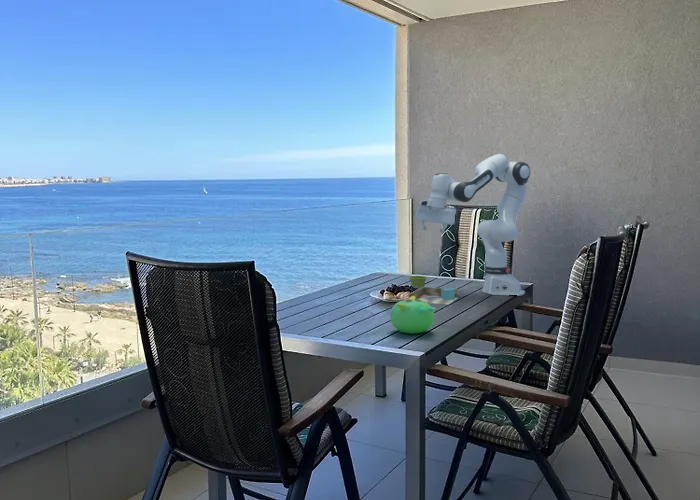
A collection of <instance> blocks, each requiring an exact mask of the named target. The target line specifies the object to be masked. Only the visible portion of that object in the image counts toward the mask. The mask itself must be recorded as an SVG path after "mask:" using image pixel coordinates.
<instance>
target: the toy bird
mask: <svg viewBox="0 0 700 500" xmlns="http://www.w3.org/2000/svg"><path fill="white" fill-rule="evenodd" d="M436 310H437V308H436V307H432V306H431V305H430V303H427V302H425V301H422V300H419V299H416V298H415V296H411V297H410V298H409V297H408V298H405V299H401V300H400V301H398V302H396V303H395V304H394V305H393V306H392V308H391V310H390V313H389V318H390V323H391V324H392V326H393V327H394V328H395V329H396V330H397V331H399V332H401V333H405V334H420V333H424V332H426V331H427V330H429V329H430V328H431V327H432V325H433V324H434V321H435V317H436V316H435V311H436Z"/></svg>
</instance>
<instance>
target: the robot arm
mask: <svg viewBox="0 0 700 500" xmlns="http://www.w3.org/2000/svg"><path fill="white" fill-rule="evenodd" d="M474 171H475V177H474V178H473V179H471V180H470V181H462V182H460V181H459V182H458V181H456V180H454V179H453V178H452V177H451V175H450V173H443V172H442V173H441V172H440V173H435V174H434V176H433V178H432V181H431V187H430V195H429V199H425V200H420V201H419V203H418V204H419V206H418V207H417V209H416V212H415V217H414V218H415V219H416V220H417V221H421V225H422V230H423V231H426V230H427V228H428V227H427V226H426V225H425V224H426V222H430V223H436V224H443V227H442V228H440V231H439V232H440V233H443V234H444V233H445V230H446V228H447V227H448V225H450V226H451V225H452V226H453V225H455V222H456V215H457V208H456V207H455V206H452V205H447V201H454V202H461V203H469V202H470V201H472V200H473V198H474V196H475V195H476V194H477V193H478V192H479V191H480V190H481V189H482V188H485V187H486V186H487V185H488V184H489V183H490V182H491V181H492V180H496V181H498V182H501V183H506V189H504V192H503V194H502V196H501V198H500V201H499V202H498V204H497V206H496V210H497V212H498V217H497V219H496V220H494V219H488V220H482V221H481V222H480V223H478V225H477V230H476V231H477V234H478V236H479V238H481V241H482V242H483V246H484V250H485V265H484V282H483V286H482V293H485V294H488V295H490V294H491V296H509V295H517V296H516V297H519V296H524V295H525V294H526V291H525V290H523V289H521V288H522V287H521V283H520V281H519V280H518V279H517V278H516V277H514V276H513V275H512V274H511V267H508V266H507V264H508V262H507V261H508V260H507V259H508V252H507V250H506V249H505V248H504V246H503V244H502V243H507V242H512V241H514V240H516V237H517V236H518V228H517V226H516V220H517V219H516V218H517V214H518V213H519V210H520V208H521V206H522V203H524V199H525V196H526V193H527V191H528V190H527V189H528V188H527V185H526V184H527V182H528V181H529V178H530V176H531V168H530V166H529V164H528V163H526V162H524V161H509V160H508V158H507V156H505V155H504V154H502V153H498V154H494V155H491V156H489V157H487V158H486V159H484V160H482V161H480V162H479V163H477V165H476V167H475V170H474Z"/></svg>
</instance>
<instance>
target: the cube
mask: <svg viewBox="0 0 700 500" xmlns="http://www.w3.org/2000/svg"><path fill="white" fill-rule="evenodd" d="M454 289H455V288H450V287H448V288H445V289H441V299H444V300H454V301H455V290H454Z"/></svg>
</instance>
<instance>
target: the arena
mask: <svg viewBox="0 0 700 500" xmlns="http://www.w3.org/2000/svg"><path fill="white" fill-rule="evenodd" d="M441 289H446V288H442V287H441V288H440V287H430V286H429V287H428V286H424V287H421V288H419V289H417V290H415V291H413V292H412V291H411V292H410V293H408V295H409V297H408V298H410V297H411V296H415V298H416V299H419V300H422V301H425V302H427V303H428V304H437V305H446V306H447V305H450V304H451V303H453V302H454V301H455V300H458V299H459V298H460V289H455V288H453V289H454V290H455V300H444V299H441Z"/></svg>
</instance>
